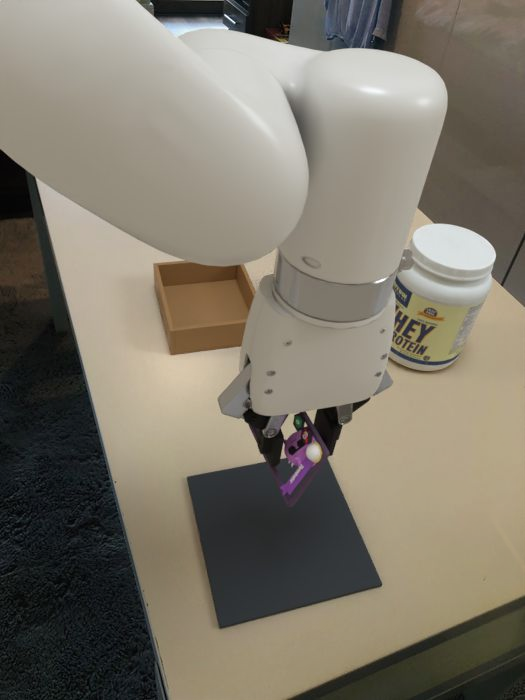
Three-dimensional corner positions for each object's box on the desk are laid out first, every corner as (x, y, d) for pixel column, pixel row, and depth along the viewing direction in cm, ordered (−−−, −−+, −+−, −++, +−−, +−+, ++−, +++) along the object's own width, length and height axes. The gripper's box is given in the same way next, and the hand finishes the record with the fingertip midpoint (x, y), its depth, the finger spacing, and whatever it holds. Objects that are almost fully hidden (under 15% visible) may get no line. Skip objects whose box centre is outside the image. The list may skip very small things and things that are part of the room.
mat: (219, 629, 49) (220, 627, 49) (186, 479, 60) (186, 476, 60) (381, 586, 53) (382, 584, 53) (323, 453, 64) (324, 450, 64)
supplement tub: (356, 340, 79) (384, 239, 68) (404, 306, 86) (438, 209, 74) (428, 388, 74) (472, 287, 62) (474, 348, 80) (521, 250, 69)
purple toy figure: (270, 370, 46) (318, 454, 40) (319, 372, 49) (370, 451, 43) (241, 424, 50) (280, 509, 44) (288, 423, 53) (331, 503, 47)
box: (170, 355, 74) (170, 331, 71) (154, 286, 84) (153, 263, 81) (265, 342, 77) (268, 319, 74) (238, 278, 88) (240, 255, 85)
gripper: (422, 231, 40) (367, 400, 52) (190, 251, 35) (190, 430, 48) (479, 295, 34) (402, 465, 47) (216, 327, 30) (209, 506, 43)
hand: (296, 446), depth 47 cm, fingers closed on purple toy figure, 4 cm apart
